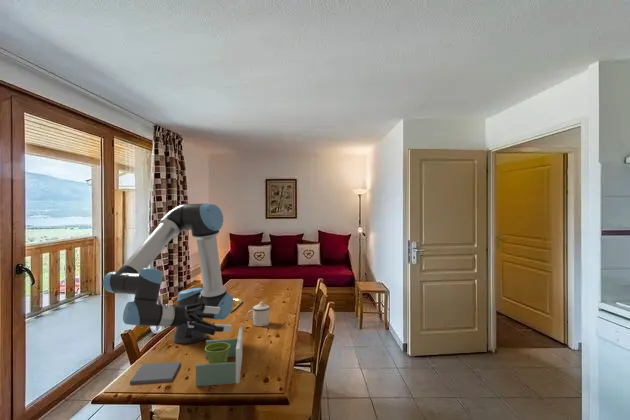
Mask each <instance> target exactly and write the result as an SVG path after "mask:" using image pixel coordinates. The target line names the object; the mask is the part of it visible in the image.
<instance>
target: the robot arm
mask: <svg viewBox="0 0 630 420" xmlns="http://www.w3.org/2000/svg"><path fill="white" fill-rule="evenodd" d="M223 223H224V215H223V211H222V210H221V208H220V207H219V206H218V205H217V204H214V203H183V204H180V205H177V206H176V207H174V208H173V209H171V210H169V211H168V212H167V213H165V215H163V217H162V218H161V219H160V220H159V222H158V225H157V227H156V228H155V229H154V230H153V232H151V234H150V235H149V236H148V237H147V238H146V239H145V240H144V241H143V242H142V244H141V245H139V247H138V248H137V249H136V250H134V253H132V255H131V256H130V257H129V258H127V260H126V261H125V263H124V264H122V266H121V267H119V269H118V270H117V271H116V270H115V271H110V272H108V273H107V274H105V275H104V277H103V279H102V287H103V289H104V290H105V291H106V292H108V293H113V294H122V295H123V294H125V295H133V296H134V297H133V298H134V299H133V301H128V302H127V303H126V305H125V307H124V310H123V314H122V322H123V323H124V324H125V325H129V326H141V327H142V326H143V327H144V326H145V327H164V328H165V327H166V328H167V327H171V328H175V330H174V333H173V338H172V339H173V342H174V343H177V344H181V345H182V344H185V345H187V344H195V343H199V342H201V341H204V340H205V339H207V337H208V335H210V336H215V334H216V333H221V332H222V333H230V332H231V329H232V324H223V323H221V324H220V323H214V324H213V323H211V322H208V321H206V320H204V319H209V320H215V321H218V320H226V319H227V318H228V317H229V315H230V314H231V313H232V312H231V310H233V306H234V301H233V298H234V297H233V295H232V294H230V293H228V291H227V287H226V286H225V285H223V279H222V270H221V269H222V268H221V263H220V255H219V248H218V247H219V246H218V239H217V237H218V236H217V235H219V233H220V230H221V229H222V227H223ZM183 231H191V235H192V237H193V238H194V239H196V246H197V252H198V253H197V254H198V260H199V267H200V275H201V281H202V282H201V283H202V287H194V288H188V289H184V290H181V291H178V293H177V300H176V305H175V304H174V305H173V304H172V305H171V304H168V303H165V304H160V303H158V298H159V295H160V289H161V287H162V286H161V285H162V283H163V282H162V279H163V271H162V270H161V269H156V268H149V267H150V265H152V263H153V262H154V261H155V259H156V258H157V257H158V256H159V255H160V254H161V252H162V251H163V250H164V248H165V247H166V246H167V245H168V243H169V242H170V241H171V240H172V239H173V238H174V237H177V236H179V235H180V233H181V232H183Z"/></svg>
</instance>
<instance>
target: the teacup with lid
mask: <svg viewBox="0 0 630 420" xmlns="http://www.w3.org/2000/svg"><path fill="white" fill-rule="evenodd" d="M270 309H271V308H270V305H268V304H265V303H264V302H263V301H260V302H259V303H258V304H256V305H254V306H253V307H252V309H250V310H248V311H247V318H248V319H249V320H252V323H253V324H252V325H253V326H255V327H266V326H269V324H270ZM250 313H252V317H251V316H250Z"/></svg>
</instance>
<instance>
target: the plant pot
mask: <svg viewBox="0 0 630 420" xmlns="http://www.w3.org/2000/svg"><path fill="white" fill-rule="evenodd" d="M229 348H230V344H228V343H225V342H217V343H212V344H209V345H207V346H206V345H205V348H204V351H205V354H206V353H207V357H208V358H207V361H208V363H207V364H211V363H227V362H228V358H229V357H228V352H229Z"/></svg>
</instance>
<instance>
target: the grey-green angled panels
mask: <svg viewBox="0 0 630 420" xmlns="http://www.w3.org/2000/svg"><path fill="white" fill-rule="evenodd" d="M243 328H244V327H243V326H239V329H238V334H237V338H227V339H226V338H224V339H209V340H208V339H207V340H205V347H206V346H207V345H209V344H212V343H217V342H225V343H228V344H230V348H229V352H228V357H227V358H235V361H231V362H228V361H227V363H211V364H209V363H199V364H198V363H197V364H195V387H202V386H203V387H205V386H215V385H217V386H219V385H230V384H240V379H241V371H242V363H243V340H244V339H243ZM205 359H208V357H207V353H206V352H205Z"/></svg>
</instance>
